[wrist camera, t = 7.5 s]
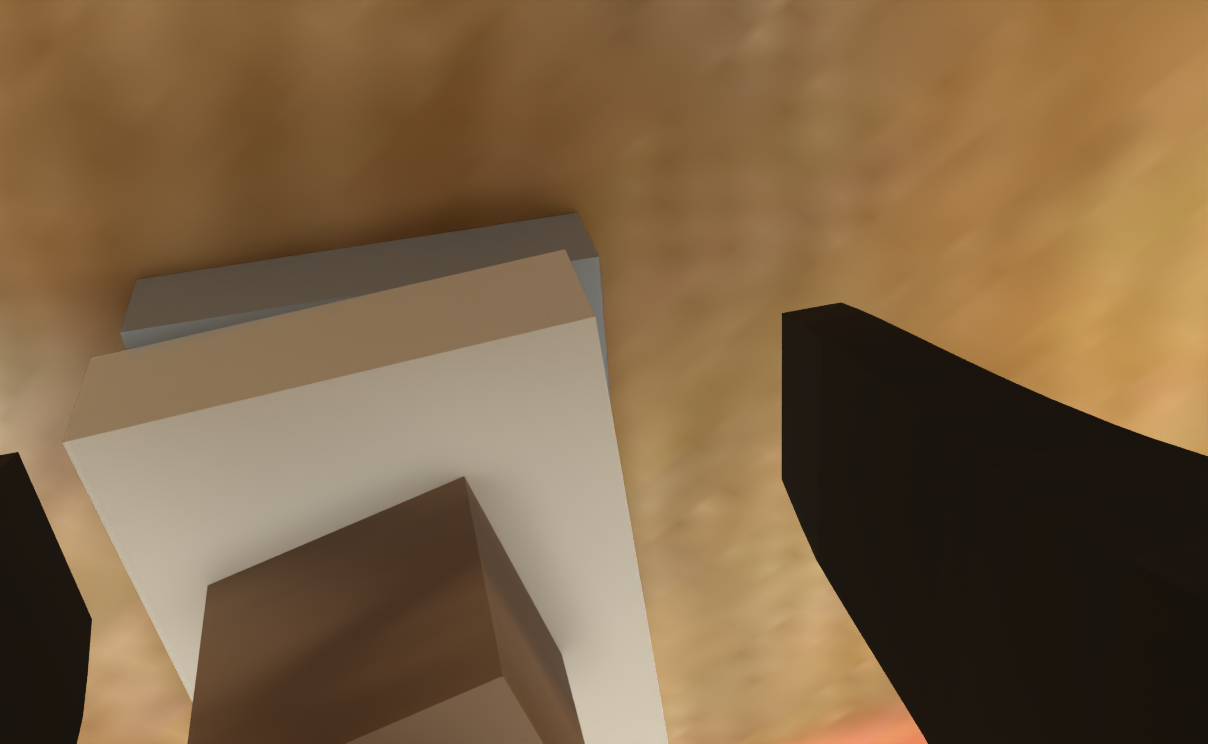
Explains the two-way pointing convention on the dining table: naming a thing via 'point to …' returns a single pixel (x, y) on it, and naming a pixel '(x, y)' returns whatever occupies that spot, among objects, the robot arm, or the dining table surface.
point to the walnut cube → (383, 640)
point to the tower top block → (383, 457)
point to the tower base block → (348, 278)
